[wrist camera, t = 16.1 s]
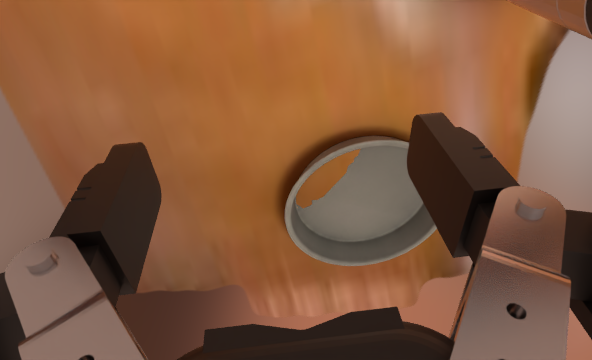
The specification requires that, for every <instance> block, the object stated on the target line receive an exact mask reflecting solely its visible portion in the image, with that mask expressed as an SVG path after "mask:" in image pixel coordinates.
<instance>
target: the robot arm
mask: <svg viewBox="0 0 592 360" xmlns="http://www.w3.org/2000/svg"><path fill="white" fill-rule="evenodd" d="M507 1H509V2H511V3H513V4H516V5H518V6H520V7H522V8H524V9H526V10H529V11H531V12H533V13H535V14H537V15H539V16H542V17H544V18H546V19H548V20H550V21H553V22H555V23H557V24H559V25H561V26H563V27H566V28H568V29H570V30H572V31H575V32H577V33H579V34H581V35H584V36H586V37H588V38H590V39H592V0H507ZM407 170H408V174H409V177H410V179H411V181H412V183H413V185H414V186H415V188H416V190H417V192H418V194H419V196H420V197H421V199H422V201H423V203H424V205H425V207H426V209H427V210H428V212H429V214H430V216H431V218H432V220H433V222H434V223H435V225H436V227H437V229H438V231H439V233H440V235H441V236H442V238H443V240H444V242H445V244H446V246H447V247H448V249H449V251H450V253H451V255H452V257H453V258H455V257H464V256H470V258H471V260H472V261H473V263H472V266H471V269H470V272H469V275H468V278H467V281H466V285H465V288H464V291H463V294H462V297H461V300H460V303H459V307H458V310H457V313H456V316H455V319H454V322H453V325H452V328H451V331H450V334H449V337H446V336H445V335H443V334H441V333H439V332H437V331H434V330H432V329H430V328H427V327H424V326H421V325H418V324H414V323H410V322H403V321H402V319H401V316H400V314H399V311H398V308H397V307H390V308H382V309H374V310H365V311H357V312H350V313H347V314H345V315H342V316H340V317H337V318H335V319H332V320H329V321H327V322H324V323H322V324H319V325H316V326H314V327H311V328H309V329H306V330H296V329H288V328H280V327H272V326H264V325H256V324H250V325H241V326H233V327H225V328H217V329H208V330H205V335H204V345H203V346H201V347H199V348H196V349H194V350H192V351H191V352H188V353H187V354H185V355H183V356H182V357H180V358H179V359H177V360H566V350H567V335H568V322H569V307H570V308H571V310H572V311H573V313H574V314H575V316H576V317H577V319H578V320H579V322H580V323H581V324H582V326H583V327H584V329H585V330H586V332H587V333H588V335H589V336H590V337H591V339H592V213H590V212H582V211H573V210H565V208H564V207H563V205H562V204H561V203H560V202H559V201H558V200H557V199H556V198H554V197H553V196H551V195H550V194H548V193H546V192H544V191H541V190H538V189H535V188H531V187H525V186H520V185H519V184H518V183H517V182H516V180H515V179H514V178H513V177H512V176H511V175H510V174H509V173H508V171H507V170H506V169H505V168H504V167H503V166H502V165H501V164H500V163H499V161H498V160H497V159H496V158H495V157H493V155H492V154H491V152H490V151H489V150H488V149H487V148H485V146H484V145H483V143H482V142H481V141H480V140H479V139H478V138H477V137H476V136H475V135H474V134H472V133H470V132H468V131H467V130H465V129H463V128H461V127H456V128H455V127H454V125H453V124H452V123H451V122H450V121H449V119H448V118H447V117H446V116H445V115H444V114H443V113H441V112H440V113H430V114H420V115H416V116H415V117H414V119H413V122H412V128H411V134H410V141H409V147H408V154H407ZM160 205H161V188H160V184H159V181H158V178H157V176H156V173H155V170H154V168H153V165H152V162H151V160H150V157H149V154H148V152H147V149H146V147H145V145H144V144H143V143H141V142H138V143H129V144H119V145H114V146H113V147H112V149H111V151H110V152H109V154H108V156H107V158H106V160H105V162H104V163H100V164H97V165H96V166H95V167H94V168H92V169H91V170H90V171H89V172H88V173H87V174H86V175H84V177H83V179H82V180H81V182H80V184H79V186H78V187H77V191H75V193H74V195H73V196H72V198H71V202H69V203H68V205H67V207H66V209H65V210H64V212H63V214H62V216H61V218H60V219H59V221H58V223H57V225H56V226H55V228H54V230H53V232H52V233H51V235H50V237H49V238H46V239H43V240H40V241H38V242H36V243H33V244H31V245H30V246H28V247H26V248H25V249H23V250H22V251H21V252H19V253H18V254H17V255H16V256H15V257H14V258H13V259H12V260H11V262H10V263H9V265H8V266H7V268H6V271H5V272H4V273H1V274H0V360H148V359H147V357H146V356H145V354H144V352H143V351H142V349H141V347H140V346H139V344H138V343H137V341H136V339H135V338H134V336H133V334H132V333H131V331H130V329H129V328H128V326H127V325H126V323H125V321H124V320H123V318H122V317H121V315H120V313H119V312H118V310H117V308H116V307H115V306H116V303H117V300H118V297H119V295H126V294H135V293H136V291H137V287H138V283H139V280H140V276H141V273H142V269H143V265H144V262H145V258H146V255H147V251H148V248H149V244H150V240H151V237H152V233H153V230H154V226H155V222H156V219H157V215H158V212H159V208H160Z"/></svg>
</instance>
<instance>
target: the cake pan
mask: <svg viewBox="0 0 592 360" xmlns="http://www.w3.org/2000/svg"><path fill="white" fill-rule="evenodd" d="M408 147H409V142H404V141H402V140H399V139H396V138H392V137H387V136H364V137H358V138H353V139H350V140H346V141H344V142H341V143H339V144H336V145H334V146H332V147H330V148H329V149H327V150H325V151H324V152H322V153H321V154H320V155H318V156H317V157H316V158H315V159H314V160H313V161H312V162H311V163H310V164H309V165H308V166H307V167H306V168H305V170H304V171H303V173H302V174H301V176H300V178H299V180H298V181H297V182H296V184H295V185H294V187H293V188H292V190H291V192H290V194H289V196H288V199H287V202H286V207H285V224H286V228H287V231H288V233H289V235H290V237H291V239H292V240H293V242H294V243H295V244H296V245H297V246H298V247H299V248H300V249H301V250H302V251H303V252H305V253H306V254H308V255H309V256H311V257H313V258H315V259H318V260H320V261H323V262H326V263H330V264H335V265H343V266H361V265H369V264H375V263H379V262H383V261H386V260H389V259H392V258H395V257H397V256H400V255H402V254H404V253H406V252H408V251H410V250H411V249H413V248H415V247H416V246H418V245H419V244H421V243H422V242H423V241H424V240H426V239H427V238H428V237H429V236H430V235H431V234H432V233H433V232H434V231H435V230H436V229H437V227H436V225H435V223H434V222H433V220H432V218H431V216H430V214H429V212H428V210H427V209H426V207H425V205H424V203H423V201H422V199H421V197H420V196H419V194H418V192H417V190H416V188H415V186H414V185H413V183H412V181H411V179H410V177H409V174H408V170H407V154H408ZM357 149H361V150H360V152H359V154H358V156H357V157H355V159H354V162H353V163H352V164H350V165H349V166H348V169H347V173H346V174H345V175H344V176H343V177H342V178H341V179H340V180H339V181H338V182H337V183H336V184H335V185H334V186H333V187H332V188H331V189H330V190H329V191H328V192H327V194H326V195H325V196H324V197H322V198H320V199H319V200H312V205H310V206H308V207H306V208H304V209H303V208H301V207H300V206H298V205H297V204H296V194H297V192H298V190H299V189H300V187H301V186H302V184H303V183H304V182H305V180H306V179H307V178H308V177H309V176H310V175H311V174H312V173H313V172H314V171H316V170H317V169H318V168H319V167H321V166H322V165H324V164H325V163H327V162H328V161H330V160H332V159H334V158H336V157H338V156H340V155H342V154H345V153H347V152H350V151H354V150H357ZM297 207H298V208H297Z"/></svg>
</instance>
